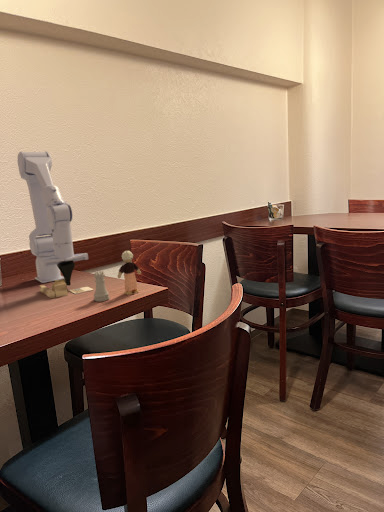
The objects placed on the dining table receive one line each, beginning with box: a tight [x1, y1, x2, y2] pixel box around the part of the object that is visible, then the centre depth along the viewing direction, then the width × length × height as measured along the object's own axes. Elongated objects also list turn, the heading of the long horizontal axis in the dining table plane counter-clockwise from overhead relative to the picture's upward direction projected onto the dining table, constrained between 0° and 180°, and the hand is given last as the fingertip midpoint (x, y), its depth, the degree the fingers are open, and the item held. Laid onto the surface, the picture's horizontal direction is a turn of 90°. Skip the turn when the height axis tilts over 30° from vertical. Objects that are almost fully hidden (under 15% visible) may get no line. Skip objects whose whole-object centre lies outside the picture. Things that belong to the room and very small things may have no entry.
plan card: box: [69, 286, 94, 295], centre depth 125 cm, size 5×6×1 cm
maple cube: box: [50, 282, 69, 298], centre depth 121 cm, size 4×4×4 cm
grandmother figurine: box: [117, 250, 142, 296], centre depth 118 cm, size 8×4×13 cm, turn 142°
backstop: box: [39, 284, 56, 299], centre depth 123 cm, size 12×1×2 cm, turn 36°
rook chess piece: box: [93, 270, 111, 303], centre depth 113 cm, size 4×4×8 cm
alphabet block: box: [53, 279, 65, 283], centre depth 127 cm, size 3×3×3 cm
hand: (68, 285), depth 128 cm, fingers closed
